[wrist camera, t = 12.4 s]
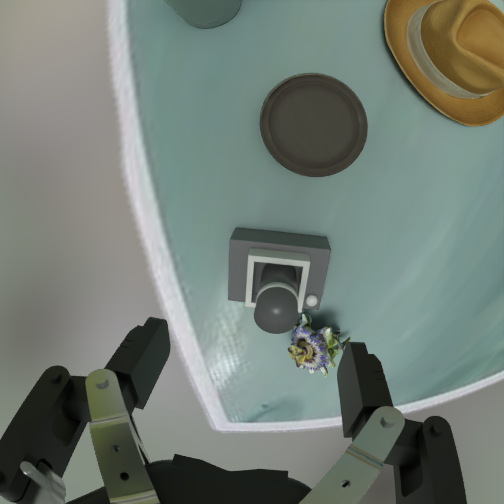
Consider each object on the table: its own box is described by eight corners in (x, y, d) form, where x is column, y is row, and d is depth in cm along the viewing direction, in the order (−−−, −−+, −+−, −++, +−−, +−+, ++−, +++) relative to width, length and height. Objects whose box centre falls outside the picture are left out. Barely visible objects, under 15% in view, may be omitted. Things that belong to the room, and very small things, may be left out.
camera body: (235, 227, 44) (226, 246, 37) (326, 237, 43) (333, 257, 36) (233, 284, 48) (224, 309, 41) (316, 292, 47) (320, 319, 40)
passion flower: (298, 310, 55) (285, 310, 44) (353, 312, 52) (355, 313, 40) (293, 365, 53) (280, 379, 42) (348, 369, 50) (348, 384, 38)
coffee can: (355, 124, 36) (388, 121, 23) (311, 177, 40) (323, 198, 27) (297, 79, 34) (303, 52, 21) (254, 133, 38) (237, 133, 25)
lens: (254, 277, 41) (244, 318, 32) (276, 252, 39) (272, 289, 30) (281, 296, 42) (279, 340, 33) (304, 273, 40) (307, 314, 31)
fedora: (348, -9, 27) (365, -45, 16) (471, -13, 19) (502, -32, 8) (421, 142, 35) (461, 149, 24) (526, 112, 28) (566, 116, 17)
